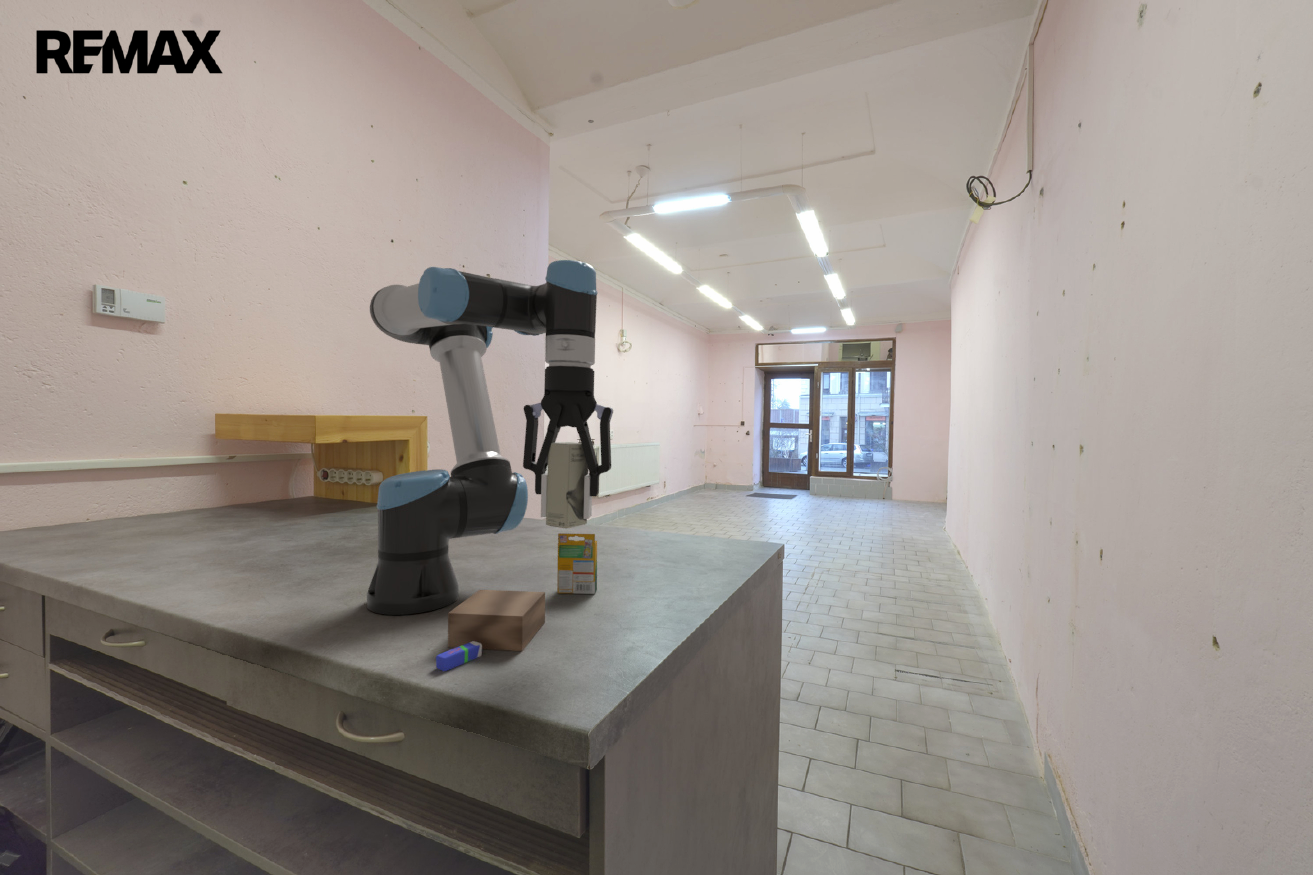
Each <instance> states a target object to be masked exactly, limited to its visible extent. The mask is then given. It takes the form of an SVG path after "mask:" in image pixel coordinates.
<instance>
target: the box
mask: <svg viewBox="0 0 1313 875" xmlns="http://www.w3.org/2000/svg"><path fill="white" fill-rule="evenodd" d="M547 473H548V475H547V507H546V517H545V526H549V527H554V528H560V529H571V528H576V527H581V526H585V525H586V524H588V519H584V480H585V476H586V475H587V474H589V469H588V466H587V462H586V458H585V455H584V451H583V448H582V444H581V442H572V441H570V442H569V441H566V442H564V441H563V442H555V443H552V444H551V446H550V450H549V453H548V466H547Z"/></svg>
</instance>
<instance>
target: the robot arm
mask: <svg viewBox="0 0 1313 875" xmlns="http://www.w3.org/2000/svg"><path fill="white" fill-rule="evenodd" d="M546 269H547V270H546V276H545V281H546V282H545V283H543V284H540V285H531V284H525V283H521V282H515V281H511V280H510V281H509V280H504V279H499V278H494V277H488V276H485V275H479V274H474V273H470V272H466V271H460V270H457V269H456V268H449V267H445V268H444V267H436V266H429V267H427V268H426V269H425V270H424V271H423V274H422V275H421V276H420V278H419V282H418V283H415V284H412V285H411V284H410V285H409V286H407V285H403V284H391V285H387V286H385V287H382V288H381V289H379V290H377V291H376V292H375V293H374V294H373V296H372V298H371V300H370V304H369V313H370V317H371V319H372V321H373V323H374V325H375V326H376V328H377V329H379V330H380V331H381V332H382V333H383V334H385V335H387V337H391V338H392V339H395V340H397V341H400V342H404V343H408V344H413V345H415V344H416V345H424V346H428V348H429V352H430V357H431V358H432V359H434V361H436V362H438V363H439V367H440V371H441V372H440V373H441V377H442V378H441V380H442V384H443V390H444V395H445V396H444V398H445V402H446V408H447V413H448V419H449V424H450V430H451V437H452V442H453V448H454V456H455V460H456V463H455V464H454V466H453V468H452V469H451V470H450V471H448V470H446V469H428V470H425V469H424V470H417V471H411V472H410V471H409V472H405V473H399V474H396V475H393V476H389V477H387V478H385V479H384V480H383V481H381V483H380V484H379V487H378V495H377V502H376V503H377V504H376V508H377V564H376V567H375V569H374V573H373V575H372V578H371V581H370V584H369V587H368V589H367V592H366V608H367V610H368V611H370V612H372V613H376V614H381V615H392V616H396V615H397V616H398V615H399V616H400V615H401V616H402V615H403V616H404V615H412V614H414V615H415V614H420V613H426V612H430V611H434V610H438V609H441V608H444V607H447V606H449V605H452V604H453V603H454V602H456V601H457V600H458V599H459V582H458V579H457V577H456V574H455V571H454V568H453V565H452V562H451V559H450V556H449V543H450V542H449V541H450V540H451V539H460V538H467V537H468V538H469V537H475V536H482V535H483V536H484V535H490V534H492V535H493V534H494V535H497V534H499V533H503V532H508V531H513V530H514V529H516V528H518V527H519V525H520V524H521V523H522V522H523V520H524V517H525V515H526V511H527V507H528V500H529V492H528V491H529V490H528V485H527V481H526V478H525V477H524V476H523V475H522V473H518V472H517V471H516V472H514V471H512V466H511V462H510V460H509V459H507V458H506V457H504V456H503V455H501V451H500V446H499V445H500V444H499V441H498V436H497V428H496V424H495V420H494V419H495V418H494V414H493V410H492V406H491V405H492V404H491V400H490V395H489V390H488V385H487V380H486V375H485V370H484V365H483V360H482V358H483V356H484V355H485V354H486V353H487V349H488V348H489V347H490V345H491V343H492V340H493V331H492V330H493V329H494V328H496V329H502V330H510V331H514V332H516V333H517V334H519V335H522V336H539V335H543V334H545V340H544V341H545V343H544V344H545V347H544V350H545V351H544V352H545V353H544V357H545V358H544V362H545V363H546V364H548V366H546V367H545V368H544V386H543V387H544V392H543V393H544V394H543V397H542V399H540V400H541V401H540V402H537V403H534V404H525V405H524V406H523V413H524V416H525V420H526V423H525V435H524V445H523V446H524V447H523V459H522V460H523V461H522V467H523V468H524V470H528V471H530V472H532V473H534V493H535V495H540V518H546V507H547V475H548V453H549V450H550V446H551V444H552V443H556V441H557V438H558V435H559V433H560V431H561V428H564V427H565V428H566V427H570V428H575V429H576V432H577V435H578V436H579V437H578V438H579V439H580V440H579V441H580V443H581V444H582V448H583V451H584V455H585V458H586V462H587V466H588V474H587V475H586V476H585V480H584V519H587V520H589V519H590V518H591V517H592V516H593V513H592V512H593V509H592V508H593V497H595V498H596V497H597V496H598V495H599V492H600V476H601V474H604V473H607V472H608V471H610V470H611V469H612V448H611V444H612V443H611V421H612V417H613V414H614V409H613V408H612V407H611V406H610V407H609V406H604V405H601V404H598V403H597V400H596V399H595V370H594V369H593V368H591V366H594V365H595V363H596V361H595V360H596V326H597V325H596V322H597V319H596V318H597V303H598V302H597V298H598V297H597V296H598V290H597V271H596V270H595V268H594V267H593V266H592V265H591V264H589V263H587V262H583V261H579V260H572V259H560V260H555V261H552V262H550V263H548V266H547V268H546ZM542 411H544V413H545V414H546V416H547V417H548V418H549V422H548V426H547V428H546V430H547V431H546V433H545V436H544V439H543V441H542V442H543V443H542V445H541V447H540V448H541V449H540V452H539V454H538V458H537V459H536V457H537V447H538V446H537V444H538V432H539V418H540V417H541V416H542ZM594 412H596V417H597V419H598V420H599V441H600V465H599V462H598V458H597V455H596V452H595V448H594V444H593V441H592V438H591V437H592V436H591V434H590V428H589V424H588V420H589V418H591V416H592V415H593V414H594ZM536 460H537V461H536ZM449 472H450V473H449Z"/></svg>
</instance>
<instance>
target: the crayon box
mask: <svg viewBox="0 0 1313 875" xmlns="http://www.w3.org/2000/svg"><path fill="white" fill-rule="evenodd" d="M557 537H558V538H557V585H556V586H557V587H556V588H557V589H556V591H557V594H558V595H559V594H577V595H578V594H580V595H582V594H583V595H584V594H585V595H586V594H587V595H595V594H596V592H597V590H598V540H596V533H567V532H566V533H563V532H562V533H557ZM575 537H578V538H584V540H579V539H578V540H574V539H569V538H575Z"/></svg>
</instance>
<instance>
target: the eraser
mask: <svg viewBox="0 0 1313 875" xmlns="http://www.w3.org/2000/svg"><path fill="white" fill-rule="evenodd" d="M482 653H483V649H482V645H481V643H478V642H475V641H472V642H470V643H467V644H465V645H462V646H459V647H456V648H451V649H448V650H446V651H444V652H442V653H441V652H440V653H439V654H437V655H436V656H435V663H436V664H435V665H436V669H437V668H438V669H437V670H439V669H440V671H441V670H442V672H444V671H445V672H448V671H450V670H452V669H454V668H456V667H459V666H461V665H464V664H466V663H468V662H471V661H473V660H475V659H477V658H480V657H482ZM449 669H450V670H449ZM447 670H448V671H447Z"/></svg>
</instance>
